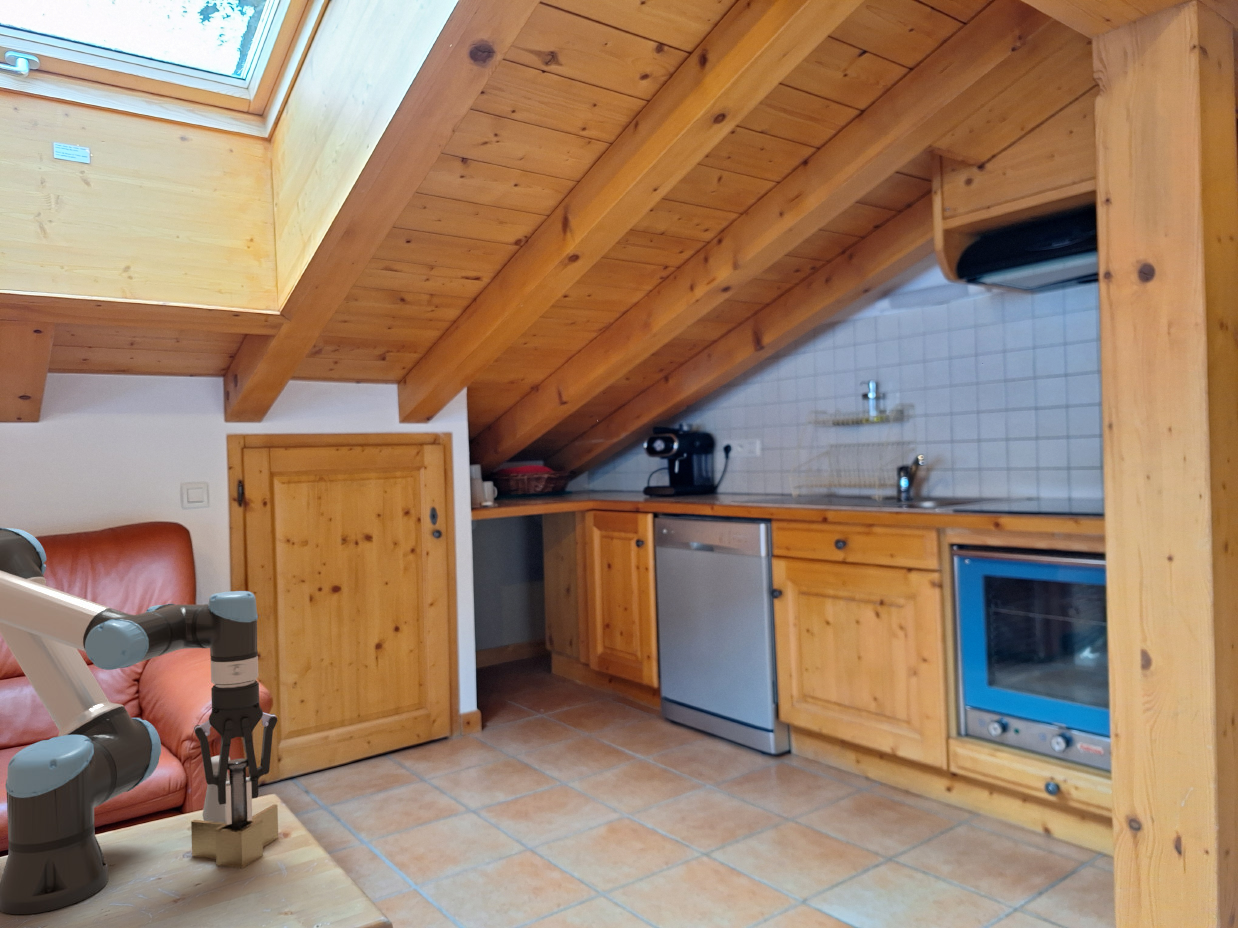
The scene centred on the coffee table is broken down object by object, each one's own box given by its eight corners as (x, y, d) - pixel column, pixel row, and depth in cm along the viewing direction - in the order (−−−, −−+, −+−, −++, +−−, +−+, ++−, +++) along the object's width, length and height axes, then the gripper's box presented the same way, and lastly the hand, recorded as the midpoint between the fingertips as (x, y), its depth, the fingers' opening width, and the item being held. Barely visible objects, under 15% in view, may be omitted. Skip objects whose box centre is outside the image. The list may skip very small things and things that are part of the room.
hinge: (182, 861, 152) (181, 825, 152) (232, 832, 163) (231, 799, 163) (242, 868, 148) (241, 831, 148) (289, 838, 160) (288, 804, 160)
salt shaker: (196, 831, 165) (194, 761, 165) (215, 819, 170) (213, 751, 170) (224, 832, 164) (222, 762, 164) (242, 820, 169) (241, 752, 169)
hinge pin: (228, 842, 149) (226, 766, 149) (226, 835, 152) (224, 760, 152) (251, 837, 151) (249, 762, 151) (249, 830, 154) (247, 756, 154)
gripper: (185, 693, 145) (189, 837, 144) (286, 680, 152) (290, 816, 152) (183, 684, 151) (187, 822, 151) (280, 672, 159) (283, 803, 159)
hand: (238, 819), depth 152 cm, fingers closed on hinge pin, 2 cm apart
